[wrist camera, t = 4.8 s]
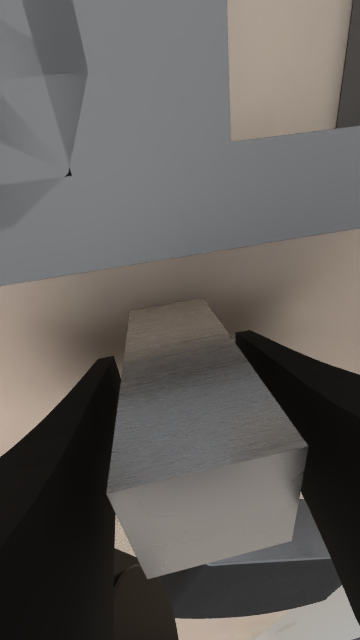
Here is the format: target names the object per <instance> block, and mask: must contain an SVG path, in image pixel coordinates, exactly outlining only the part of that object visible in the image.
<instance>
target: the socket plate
mask: <svg viewBox="0 0 360 640" xmlns="http://www.w3.org/2000/svg"><path fill="white" fill-rule="evenodd" d="M358 228H360V0H354V1H353V9H352V16H351V24H350V31H349V38H348V46H347V53H346V61H345V68H344V75H343V83H342V90H341V98H340V105H339V113H338V120H337V127H336V129H330V130H322V131H314V132H306V133H298V134H290V135H282V136H274V137H266V138H258V139H250V140H242V141H234V142H231V141H230V103H229V65H228V27H227V0H0V286H4V285H10V284H16V283H22V282H28V281H35V280H41V279H47V278H53V277H60V276H66V275H72V274H78V273H84V272H91V271H97V270H103V269H109V268H115V267H122V266H128V265H134V264H140V263H146V262H153V261H159V260H165V259H171V258H178V257H184V256H190V255H196V254H202V253H209V252H215V251H221V250H227V249H233V248H240V247H246V246H252V245H258V244H264V243H271V242H277V241H283V240H289V239H296V238H302V237H308V236H314V235H320V234H327V233H333V232H339V231H345V230H351V229H358Z"/></svg>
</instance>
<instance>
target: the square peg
mask: <svg viewBox="0 0 360 640" xmlns="http://www.w3.org/2000/svg"><path fill="white" fill-rule="evenodd" d="M308 447H309V446H308V445H307V444H306V442H305V441H304V439H303V438H302V436H301V435H300V434H299V432H298V431H297V429H296V428H295V427H294V425H293V424H292V422H291V421H290V420H289V418H288V417H287V415H286V414H285V413H284V411H283V410H282V408H281V407H280V405H279V404H278V403H277V401H276V400H275V398H274V397H273V396H272V394H271V393H270V391H269V390H268V389H267V387H266V386H265V384H264V383H263V382H262V380H261V379H260V377H259V376H258V374H257V373H256V372H255V370H254V369H253V367H252V366H251V365H250V363H249V362H248V360H247V359H246V358H245V356H244V355H243V353H242V352H241V351H240V349H239V348H238V346H237V345H236V343H235V342H234V341H233V339H232V338H231V336H230V335H229V334H228V332H227V331H226V329H225V328H224V327H223V325H222V324H221V322H220V321H219V319H218V318H217V317H216V315H215V314H214V312H213V311H212V310H211V308H210V307H209V305H208V304H207V303H206V301H205V300H204V298H199V299H194V300H188V301H182V302H177V303H171V304H165V305H159V306H154V307H148V308H142V309H137V310H131V311H130V315H129V322H128V330H127V338H126V346H125V353H124V361H123V369H122V377H121V384H120V392H119V400H118V408H117V415H116V423H115V431H114V439H113V446H112V454H111V462H110V470H109V477H108V485H107V493H106V494H107V496H108V498H109V500H110V503H111V505H112V507H113V509H114V511H115V513H116V515H117V517H118V519H119V521H120V523H121V525H122V528H123V530H124V532H125V534H126V536H127V538H128V540H129V542H130V544H131V546H132V548H133V550H134V553H135V555H136V557H137V559H138V561H139V563H140V565H141V567H142V569H143V571H144V573H145V575H146V578H147V579H151V578H154V577H158V576H162V575H166V574H169V573H173V572H177V571H181V570H184V569H188V568H192V567H196V566H199V565H203V564H207V563H211V562H214V561H218V560H222V559H226V558H229V557H233V556H237V555H241V554H244V553H248V552H252V551H256V550H259V549H263V548H267V547H271V546H274V545H278V544H282V543H286V542H289V541H292V536H293V530H294V525H295V519H296V514H297V508H298V503H299V497H300V491H301V486H302V480H303V475H304V469H305V463H306V458H307V452H308Z"/></svg>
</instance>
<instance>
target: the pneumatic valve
mask: <svg viewBox="0 0 360 640" xmlns="http://www.w3.org/2000/svg"><path fill="white" fill-rule="evenodd" d="M113 611H114V640H178V634H177V628H176V623H175V618H174V614H173V611H172V607H171V604H170V601H169V598H168V595H167V593H166V591H165V589H164V587H163V585H162V583H161V581H160V580H159V578H158V577H154V578H151V579H147V578H146V575H145V573H144V571H143V569H142V567H141V565H140V563H139V561H138V559H137V557H134V556H132V555H129V554H127V553H125V552H122V551H120V550H118V549H115V548H114V603H113Z"/></svg>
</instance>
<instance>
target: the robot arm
mask: <svg viewBox="0 0 360 640" xmlns="http://www.w3.org/2000/svg"><path fill="white" fill-rule="evenodd" d="M235 335H236V345H237V346H238V348H239V349H240V351H241V352H242V353H243V355H244V356H245V358H246V359H247V360H248V362H249V363H250V365H251V366H252V367H253V369H254V370H255V372H256V373H257V374H258V376H259V377H260V379H261V380H262V382H263V383H264V384H265V386H266V387H267V389H268V390H269V391H270V393H271V394H272V396H273V397H274V398H275V400H276V401H277V403H278V404H279V405H280V407H281V408H282V410H283V411H284V413H285V414H286V415H287V417H288V418H289V420H290V421H291V422H292V424H293V425H294V427H295V428H296V429H297V431H298V432H299V434H300V435H301V436H302V438H303V439H304V441H305V442H306V444H307V445H308V446H309V447H308V452H307V458H306V463H305V469H304V475H303V480H302V486H301V493H302V495H303V497H304V499H305V501H306V503H307V506H308V508H309V510H310V512H311V514H312V517H313V519H314V521H315V523H316V525H317V528H318V530H319V532H320V534H321V537H322V539H323V541H324V543H325V546H326V548H327V550H328V553H329V555H330V557H331V560H332V562H333V564H334V567H335V569H336V571H337V574H338V576H339V578H340V581H341V583H342V585H343V588H344V590H345V593H346V595H347V597H348V600H349V602H350V605H351V607H352V610H353V612H354V614H355V617H356V619H357V621H358V623H359V625H360V375H359V374H355V373H352V372H349V371H346V370H343V369H340V368H337V367H334V366H331V365H329V364H326V363H323V362H320V361H318V360H315V359H313V358H310V357H308V356H305V355H303V354H301V353H298V352H296V351H294V350H292V349H289V348H287V347H285V346H283V345H281V344H279V343H276V342H274V341H272V340H270V339H268V338H266V337H264V336H262V335H260V334H257V333H255V332H253V331H250V330H248V331H242V332H237V333H235ZM120 384H121V378H120V375H119V371H118V368H117V365H116V362H115V359H114V356H111V357H105V358H100V359H98V360H97V361H96V362H95V363H94V364H93V366H92V367H91V368H90V369H89V370H88V371H87V373H86V374H85V375H84V376H83V377H82V379H81V380H80V381H79V382H78V383H77V384H76V385H75V387H74V388H73V389H72V390H71V391H70V392H69V393H68V394H67V396H66V397H65V398H64V399H63V400H62V401H61V402H60V403H59V404H58V405H57V406H56V407H55V408H54V409H53V410H52V411H51V412H50V413H49V414H48V415H47V416H46V417H45V418H44V419H43V420H42V421H41V422H40V423H39V424H38V425H37V426H36V427H35V428H34V429H33V430H32V431H30V432H29V433H28V434H27V435H26V436H25V437H24V438H23V439H22V440H20V441H19V442H18V443H17V444H16V445H15V446H14V447H12V448H11V449H10V450H9V451H7V452H6V453H5V454H4V455H2V456H1V457H0V640H114V611H113V603H114V542H115V511H114V509H113V507H112V505H111V503H110V500H109V498H108V496H107V494H106V493H107V485H108V477H109V470H110V462H111V454H112V446H113V439H114V431H115V423H116V415H117V408H118V400H119V392H120ZM353 640H360V638H357V639H353Z"/></svg>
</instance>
